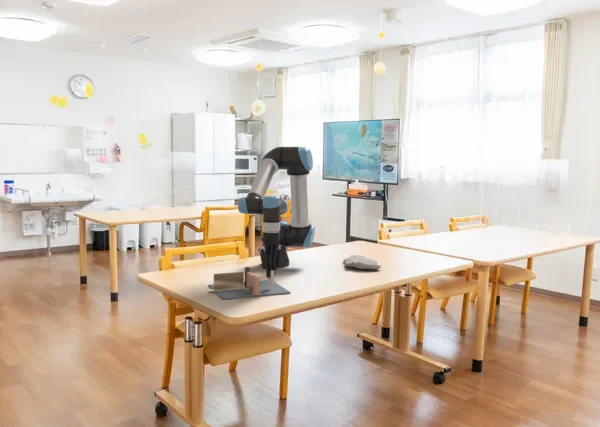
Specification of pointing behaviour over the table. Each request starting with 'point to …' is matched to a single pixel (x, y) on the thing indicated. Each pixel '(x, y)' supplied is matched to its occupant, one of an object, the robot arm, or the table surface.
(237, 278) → the base
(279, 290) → the card
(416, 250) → the table surface
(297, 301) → the table surface
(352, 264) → the stone
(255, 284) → the hinged panel
